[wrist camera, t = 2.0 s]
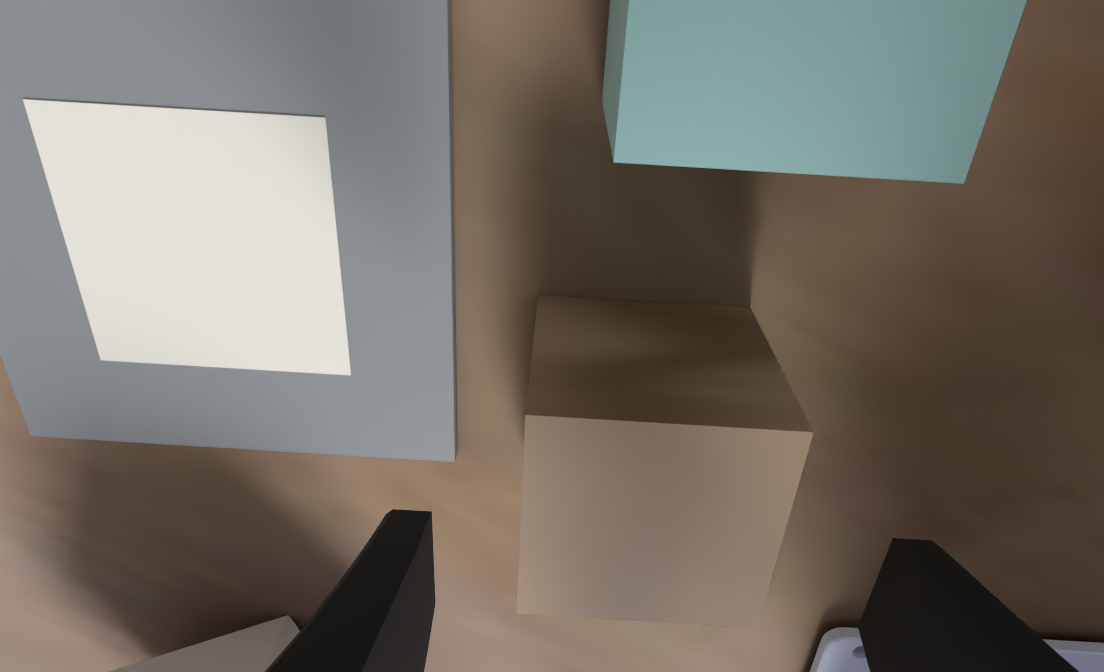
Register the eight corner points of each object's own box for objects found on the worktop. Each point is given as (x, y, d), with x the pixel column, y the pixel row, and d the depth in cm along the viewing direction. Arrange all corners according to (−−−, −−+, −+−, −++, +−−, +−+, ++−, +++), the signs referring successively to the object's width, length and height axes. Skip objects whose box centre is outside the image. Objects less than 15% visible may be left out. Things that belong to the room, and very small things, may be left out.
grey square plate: (450, -14, 12) (446, -14, 12) (457, 451, 17) (454, 462, 16) (-131, -50, 12) (-155, -50, 12) (42, 426, 17) (29, 436, 16)
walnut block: (749, 305, 15) (813, 432, 11) (714, 471, 17) (757, 628, 13) (538, 293, 15) (524, 414, 11) (530, 460, 17) (516, 613, 13)
